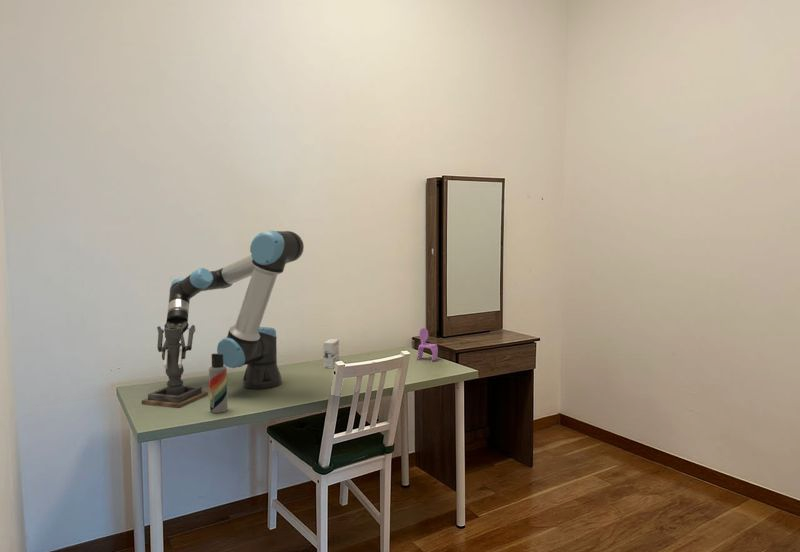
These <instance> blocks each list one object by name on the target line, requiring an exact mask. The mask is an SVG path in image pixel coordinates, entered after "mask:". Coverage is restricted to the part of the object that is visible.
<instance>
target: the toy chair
mask: <svg viewBox="0 0 800 552" xmlns="http://www.w3.org/2000/svg"><path fill="white" fill-rule="evenodd" d="M418 336H419V338H420V344H419V345H418V348H417V352H418V353H417V356H416V359H418V358H420V357H422V356H423V357H424V350H425V348H426V349H430V350H431V353H432V355H431V356H432V358H431V360H430V362H431V361H433V360H435V359H437V360H438V354H439V346H438V344H437V343H427V339H428V338H429V331H428V329H427V328H424V327H423V328H422V327H421V328H420V330H419V333H418ZM416 359H415V360H416ZM418 360H419V359H418ZM435 361H436V360H435ZM433 362H434V361H433Z"/></svg>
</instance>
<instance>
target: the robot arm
mask: <svg viewBox="0 0 800 552" xmlns="http://www.w3.org/2000/svg"><path fill="white" fill-rule="evenodd" d="M249 250H250V253H251V254H250V255H248V256H246V257H243V258H241V259H239V260H236V261H235V262H233V263H230V264H228V265H226V266H224V267H222V268H219V269H217V270H209V269H208V268H207V269H206V268H205V267H201V268H200V267H199V268H198V269H196V270H194V271H192V272H191V273H190V274H189V275H188V276H186V277H185V278H182V277H179V278H177V279H176V278H175V279H174V280H172V282H171V284H170V288H169V295H168V298H169V299H168V305H167V306H168V307H167V316H166V321H165V324H164V326H161V325H160V326H159V325H158V326H157V327H156V328H157V332H158V334H157V346H156V348H157V351H158V352H159V353H161V359H162V360H163V366H164V367H163V368H164V370H166V369H167V367H168V348H167V347H166V345H167V344H168V342H167V340H166V339H165V340H164V334H165V328H169V327H181V328H182V337H181V339H180V343H181V348H180V350H179V361H178V365H179V368H181V367H182V365H183V360H185V359H186V354H187V352H188V351H191V350H192V347H193V339H194V334H195V332H196V327H195V325H194V324H192V325H190V324H189V323H188V322H189V313H190V300H191V299H192V298H193V297H195V296H196V295H198V294H199V293H201V292H205V291H206V292H207V291H213V290H219V289H222V290H223V289H224V290H225V289H226V288H230V287H232V286H233V285H234V284H235V283H237V282H239V281H241V280H244V279H247V278H250V280H249V283H248V286H247V288H246V290H245V291H246V292H245V294H244V298H243V300H242V304H241V307H240V310H239V313H238V316H237V319H236V321H235V322H236V323H235V324H234V325H231V326H230V327H229V330H228V332H227V336H226V337H223V338H222V339H221V340H220V341H219V342H218V343H217V346H216V352H217V353H216V354H223V362H224V366H226V368H231V369H236V368H241V367H243V366H246V368H245V372H244V375H243V378H242V386H243V387H244V388H247V389H253V390H254V389H255V390H259V389H261V390H262V389H269V388H271V389H272V388H275V387H277V386H280V385H281V384H282V381H283V380H282V374H281V372H280V369H279V367H278V357H277V353H278V352H277V349H278V348H277V331H276V329H275V328H273V327H266V326H261V324H262V321H263V318H264V315H265V311H266V308H267V306H268V303H269V301H270V297H271V294H272V292H273V288H274V286H275V283H276V280H277V277H278V275H280V274H282V273H284V269H285V267H286V264H289V263H291V262H295V261H297V260H298V259H300V258H301V256H302V255H303V252H304V241H303V240H302V238H301V237H300V235H298V234H297V233H296V232H294V231H290V230H285V231H283V230H281V231H279V230H277V231H276V230H267V231H263V232H260V233H258V234H257V235H255V236H254V237H253V239H252V241H251V242H250V246H249ZM187 330H188V336H187V337H188V338H187V344H186V342H185V337H184V333H185V332H186V331H187ZM163 340H164V343H163Z"/></svg>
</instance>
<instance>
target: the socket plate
mask: <svg viewBox="0 0 800 552" xmlns="http://www.w3.org/2000/svg"><path fill="white" fill-rule="evenodd" d="M166 387H167V386H165V387H163V388H161V389H158V390H156V391H154V392H149V393H147V398H144V399H142V400H141V405H146V404H151V405H150V406H156V405H159V406H158V407H166V406H167V408H178V409H180V408H183V407H185V406H187V405H189V404H191V403H193V402H195V401H197V400H198V401H199V400H200V399H203V398H204V397H207V396H208V395H209V392H208V391H203V389H202V386H201V387H200V386H191V385H189V386H188V385H184V390H185V393H183V394H181V395H179V396H175V395H166Z"/></svg>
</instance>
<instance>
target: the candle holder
mask: <svg viewBox="0 0 800 552" xmlns="http://www.w3.org/2000/svg"><path fill="white" fill-rule="evenodd" d="M181 337H182V328H181V327H169V328H165V330H164V338H165V340H167V342H168V344H167V345H166V347H167V348H168V367H167V369H165V375H167V379H168V381H167V382H166V386H165V387H166V395H175V396H179V395H181V394H183V393H185V390H184V386H185V385H184V381H183V380H182V375H183V373H184V370H185V369H184V365H183V364H182V367H181V368H179V365H178V361H179V350H180V349H181V347H182V345H181V340H180V339H181Z"/></svg>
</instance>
